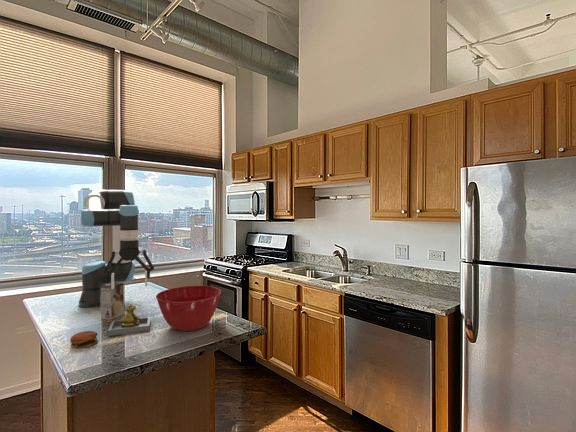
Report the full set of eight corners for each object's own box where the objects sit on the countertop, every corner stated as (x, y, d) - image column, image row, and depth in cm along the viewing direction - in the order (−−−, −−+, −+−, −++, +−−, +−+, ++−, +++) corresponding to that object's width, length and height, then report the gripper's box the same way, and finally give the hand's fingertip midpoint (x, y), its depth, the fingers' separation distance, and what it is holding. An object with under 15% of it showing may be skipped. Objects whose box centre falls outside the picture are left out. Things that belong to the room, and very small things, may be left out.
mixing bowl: (203, 340, 136) (202, 302, 136) (142, 334, 143) (141, 298, 143) (230, 318, 164) (230, 287, 164) (178, 314, 170) (178, 284, 170)
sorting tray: (112, 326, 154) (112, 320, 154) (150, 321, 159) (150, 316, 159) (108, 336, 142) (108, 330, 141) (149, 331, 147) (149, 325, 147)
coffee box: (113, 313, 173) (113, 282, 172) (124, 314, 171) (124, 282, 171) (100, 319, 164) (99, 286, 163) (111, 319, 162) (111, 286, 162)
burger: (70, 343, 135) (69, 331, 135) (96, 338, 140) (96, 326, 140) (70, 351, 127) (70, 339, 126) (99, 346, 132) (98, 334, 132)
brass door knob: (135, 330, 147) (135, 307, 147) (118, 330, 146) (117, 307, 146) (141, 324, 154) (141, 302, 154) (125, 324, 154) (124, 303, 154)
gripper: (95, 241, 142) (96, 291, 142) (159, 239, 150) (159, 286, 151) (99, 239, 149) (99, 287, 149) (159, 238, 157) (159, 283, 158)
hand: (129, 287), depth 150 cm, fingers open, 13 cm apart
